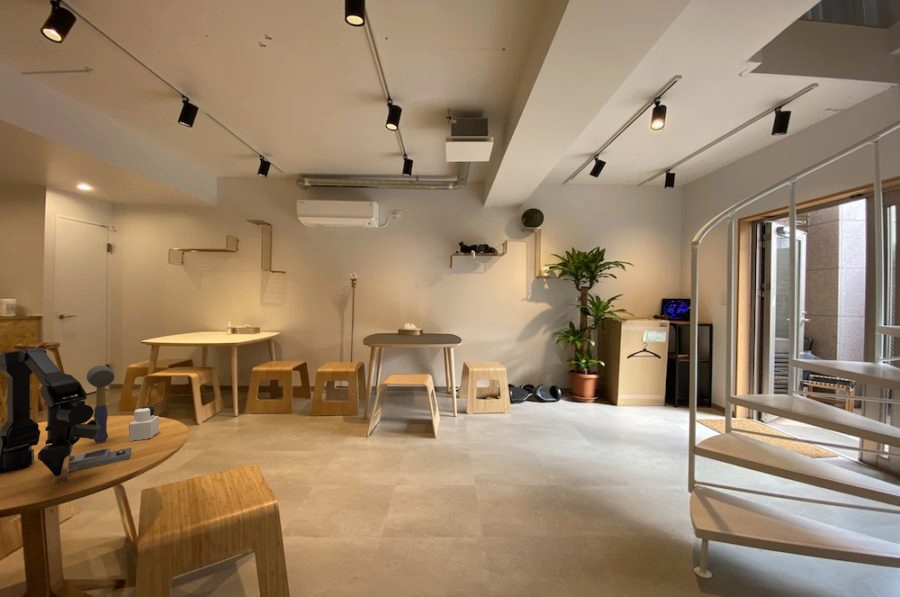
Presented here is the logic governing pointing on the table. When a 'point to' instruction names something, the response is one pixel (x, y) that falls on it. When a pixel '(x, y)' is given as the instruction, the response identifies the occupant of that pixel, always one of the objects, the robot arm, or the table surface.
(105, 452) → the slotted metal plate
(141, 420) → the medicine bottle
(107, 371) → the rubber mallet
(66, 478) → the pin
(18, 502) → the table surface
